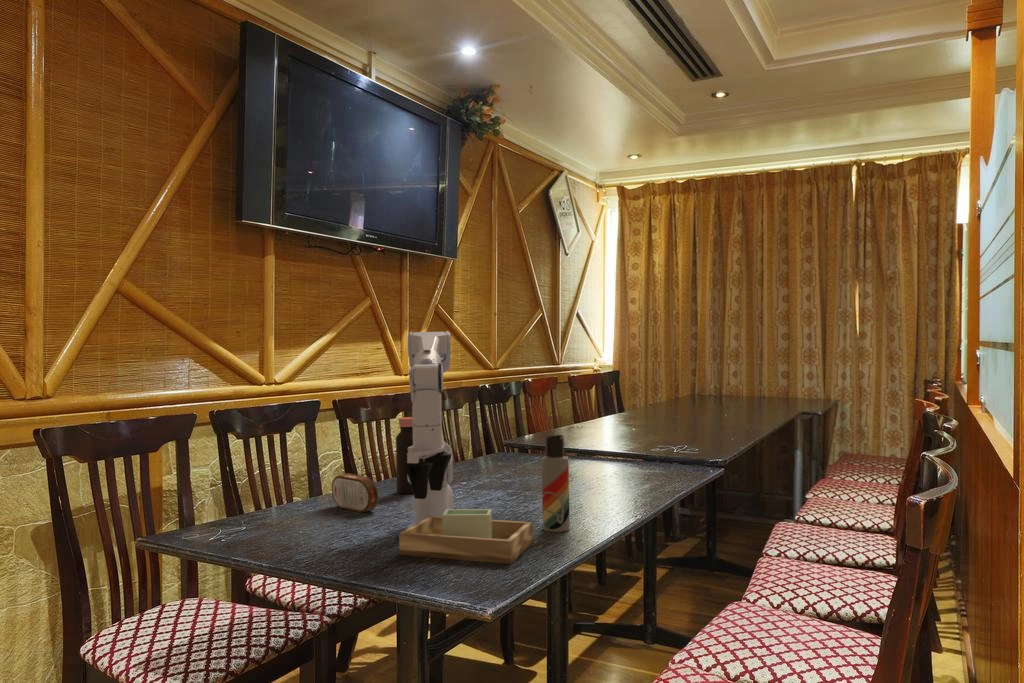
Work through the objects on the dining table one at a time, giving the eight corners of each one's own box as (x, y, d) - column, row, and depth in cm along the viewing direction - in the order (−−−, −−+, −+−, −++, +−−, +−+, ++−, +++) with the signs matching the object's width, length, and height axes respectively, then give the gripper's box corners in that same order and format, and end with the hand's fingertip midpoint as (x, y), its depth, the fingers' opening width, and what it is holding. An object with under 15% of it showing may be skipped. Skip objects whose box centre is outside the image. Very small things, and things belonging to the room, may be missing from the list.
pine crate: (430, 535, 144) (430, 515, 144) (532, 542, 137) (532, 522, 137) (399, 554, 130) (399, 533, 130) (511, 563, 124) (510, 541, 124)
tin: (379, 512, 165) (378, 477, 165) (368, 515, 162) (368, 479, 163) (340, 504, 174) (339, 471, 174) (329, 507, 172) (329, 473, 172)
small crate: (446, 540, 136) (445, 509, 136) (492, 539, 136) (491, 509, 136) (442, 547, 132) (442, 515, 132) (490, 546, 131) (489, 514, 131)
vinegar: (419, 488, 192) (418, 416, 193) (424, 493, 186) (422, 418, 186) (394, 490, 190) (393, 417, 190) (398, 495, 184) (397, 419, 184)
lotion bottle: (550, 533, 143) (548, 436, 143) (538, 527, 148) (536, 433, 149) (574, 530, 145) (572, 434, 146) (561, 524, 151) (560, 432, 151)
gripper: (423, 420, 144) (424, 486, 144) (392, 429, 131) (393, 501, 131) (455, 421, 142) (456, 487, 142) (426, 429, 129) (427, 503, 128)
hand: (428, 494), depth 136 cm, fingers open, 7 cm apart
